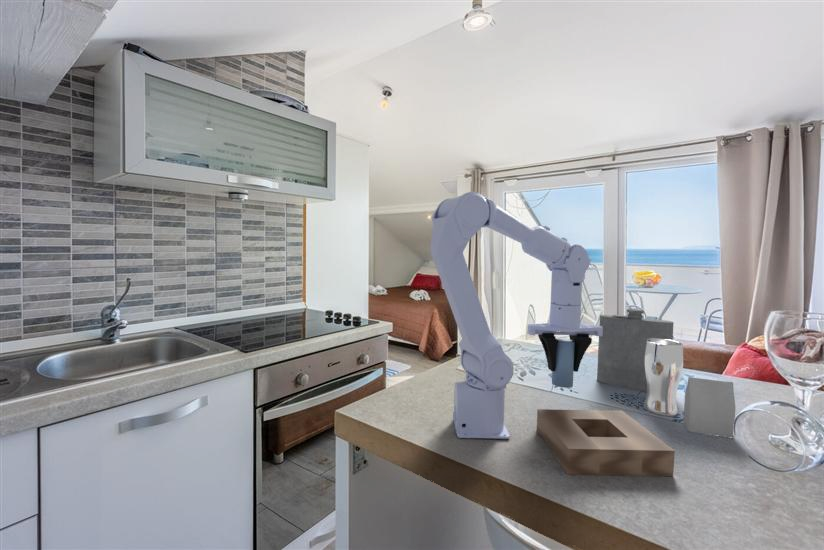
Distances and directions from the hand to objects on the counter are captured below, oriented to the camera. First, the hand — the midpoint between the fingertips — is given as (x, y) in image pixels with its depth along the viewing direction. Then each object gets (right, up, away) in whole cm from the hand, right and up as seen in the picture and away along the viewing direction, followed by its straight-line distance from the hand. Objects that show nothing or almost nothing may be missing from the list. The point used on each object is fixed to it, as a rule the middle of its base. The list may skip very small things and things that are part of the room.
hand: (562, 369), depth 75 cm
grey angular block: (+26, -11, -5) cm, 28 cm away
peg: (0, -3, 0) cm, 3 cm away
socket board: (+1, -11, -12) cm, 16 cm away
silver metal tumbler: (+23, -10, +4) cm, 25 cm away
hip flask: (+25, -9, +18) cm, 32 cm away
